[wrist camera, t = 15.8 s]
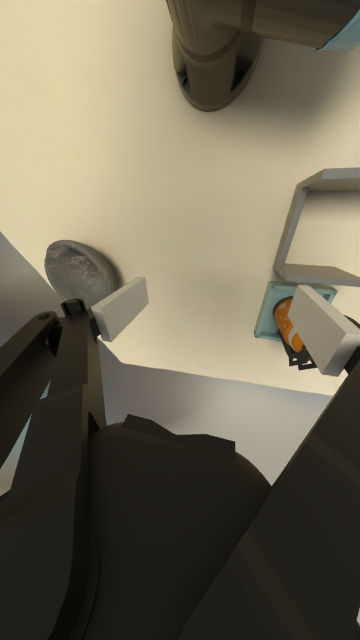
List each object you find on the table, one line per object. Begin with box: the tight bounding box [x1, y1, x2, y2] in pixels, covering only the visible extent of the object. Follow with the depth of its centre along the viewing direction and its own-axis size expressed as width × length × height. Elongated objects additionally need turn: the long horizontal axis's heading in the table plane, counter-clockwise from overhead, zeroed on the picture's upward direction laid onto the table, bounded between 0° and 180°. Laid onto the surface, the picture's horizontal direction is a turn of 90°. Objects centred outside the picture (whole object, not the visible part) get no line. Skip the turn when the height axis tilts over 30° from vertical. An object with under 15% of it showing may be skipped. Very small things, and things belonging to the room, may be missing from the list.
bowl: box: [44, 240, 117, 309], centre depth 54 cm, size 23×22×10 cm
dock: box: [273, 168, 360, 287], centre depth 33 cm, size 17×14×12 cm
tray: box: [254, 282, 337, 341], centre depth 48 cm, size 17×15×3 cm
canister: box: [273, 296, 318, 370], centre depth 40 cm, size 9×11×20 cm
